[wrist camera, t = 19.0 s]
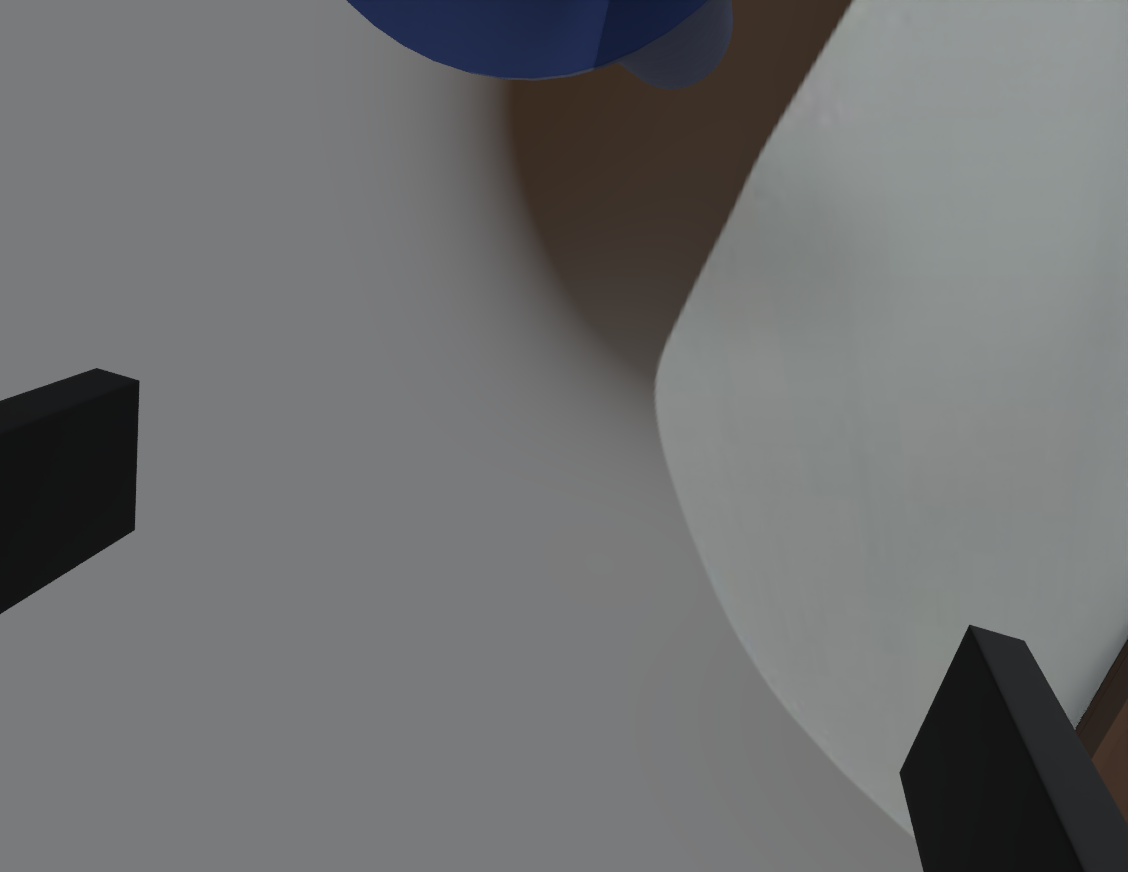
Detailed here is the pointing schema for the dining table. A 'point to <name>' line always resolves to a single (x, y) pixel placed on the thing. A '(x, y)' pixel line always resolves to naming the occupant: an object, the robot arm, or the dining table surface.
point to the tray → (1110, 731)
